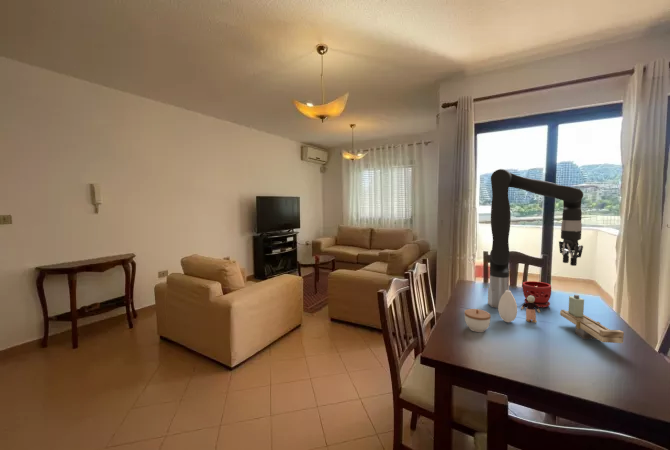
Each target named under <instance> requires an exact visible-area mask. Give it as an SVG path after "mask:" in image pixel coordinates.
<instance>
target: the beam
mask: <svg viewBox="0 0 670 450" xmlns="http://www.w3.org/2000/svg"><path fill="white" fill-rule="evenodd" d="M568 311H569V310H565V309H560V313H559V315H560V316H561V317H563V318H564V319H566V320H567V321H569V322H570V323H572V324H573V325H574V326H575V330H574V331H575V334H576V335H577V336H578V337H580V338H581V339H583V340H598V341H600V342H601V343H614V344H624V338H625V336H624V334H625V332H624V331H622V330H620V329H609V327H606V326H605V325H603V324H601V322H599V321H595V319H593V318H590V317H589V316H587V315H585V313H583V317H575V316H573V315H572V314H570V313H568Z"/></svg>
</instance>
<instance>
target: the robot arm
mask: <svg viewBox="0 0 670 450" xmlns="http://www.w3.org/2000/svg"><path fill="white" fill-rule="evenodd" d="M490 184H491V194H492V195H491V197H492V198H491V199H492V200H491V206H490V227H491V236H492V247H491V250H490V252H489V286H488V288H487V304H488V305H489V306H490V307H491V308H495V309H498V306H499V301H500V299H501V297H502V295H503V294H504V293H505V291H506V290H508V286H509V287H510V259H511V254H510V244H509V239H510V238H509V237H510V233H511V232H510V231H511V216H512V215H511V205H510V200H509V188H514V189H519V190H523V191H526V192H529V193H532V194H536V195H539V196H543V197H547V198H553V199H556V200H560V201H563V202H562V203H563V209H562V219H561V225H560V227H561V229H560V239H561V240H560V241H558V246H559V247H558V248H559V253H560V254H561V255H562V263H564V264H568V263H570V264H569V265H570V266H571V267H573V266H574V267H575V266H577V264H578V263H577V262H578V258H581V257H582V253H583V249H584V245H583V244H582V245H580V244H579V241H581V239H582V228H583V226H582V225H583V223H582V216H583V215H582V213H583V212H582V211H583V210H582V199H583V197H584V192H583V190H582V189H580V188H577V187H572V186H568V185H567V186H566V185H561V184H557V183H556V182H555V183H554V182H550V181H547V180H541V179H535V178H529V177H524V176H520V175H517V174H515V173H512V172H510V171H508V170H506V169H503V168H500V169H496V170H494V171H493V173H492V174H491V177H490ZM562 240H563V241H562ZM569 260H570V262H569Z"/></svg>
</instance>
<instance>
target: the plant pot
mask: <svg viewBox="0 0 670 450" xmlns="http://www.w3.org/2000/svg"><path fill="white" fill-rule="evenodd" d="M522 292H523V296H524V303H529V302H528V300H527V297H528V296H534V298H535V301H534V302H533V303H534V304H536V305H537V306H538V308H548V307H549V306H550V305H551V303H550V298H551V296H552V285H551V284H550V283H547V282H541V281H534V280H533V281H531V280H530V281H523V282H522Z"/></svg>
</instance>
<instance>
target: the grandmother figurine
mask: <svg viewBox="0 0 670 450" xmlns="http://www.w3.org/2000/svg"><path fill="white" fill-rule="evenodd" d="M527 300H528V302H529V303H525V302H524V303H523V304H522V305H521V307H520V309H521V310H524V309H526V310H525V321H526V322H528V323H529V322H531V323H538V321H537V319H536V317H537V313H540V314H541V310H540V307H538V306H537V305H536V304H534V303H533V302H534V301H535V298H534V296H528V297H527ZM536 311H537V313H536Z"/></svg>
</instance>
